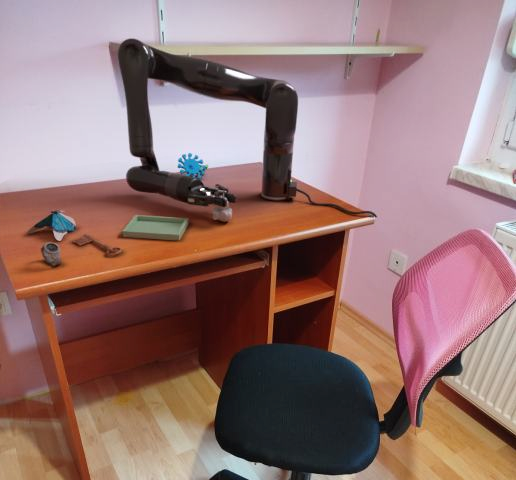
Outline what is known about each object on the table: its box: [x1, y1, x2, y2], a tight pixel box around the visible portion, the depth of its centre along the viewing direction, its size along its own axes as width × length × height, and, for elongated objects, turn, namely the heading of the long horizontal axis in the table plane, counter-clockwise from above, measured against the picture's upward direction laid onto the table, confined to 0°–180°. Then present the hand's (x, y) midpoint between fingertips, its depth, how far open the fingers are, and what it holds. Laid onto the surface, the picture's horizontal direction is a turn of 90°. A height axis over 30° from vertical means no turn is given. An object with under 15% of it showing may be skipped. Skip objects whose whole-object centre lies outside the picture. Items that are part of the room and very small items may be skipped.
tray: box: [121, 214, 190, 242], centre depth 130 cm, size 15×12×2 cm
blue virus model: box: [177, 152, 209, 180], centre depth 170 cm, size 11×6×10 cm
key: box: [72, 233, 123, 256], centre depth 120 cm, size 6×1×15 cm
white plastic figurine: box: [211, 193, 233, 223], centre depth 135 cm, size 5×7×8 cm
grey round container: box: [40, 241, 62, 267], centre depth 111 cm, size 4×6×5 cm, turn 49°
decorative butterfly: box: [26, 210, 77, 242], centre depth 126 cm, size 10×6×10 cm
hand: (230, 201), depth 133 cm, fingers closed on white plastic figurine, 3 cm apart
